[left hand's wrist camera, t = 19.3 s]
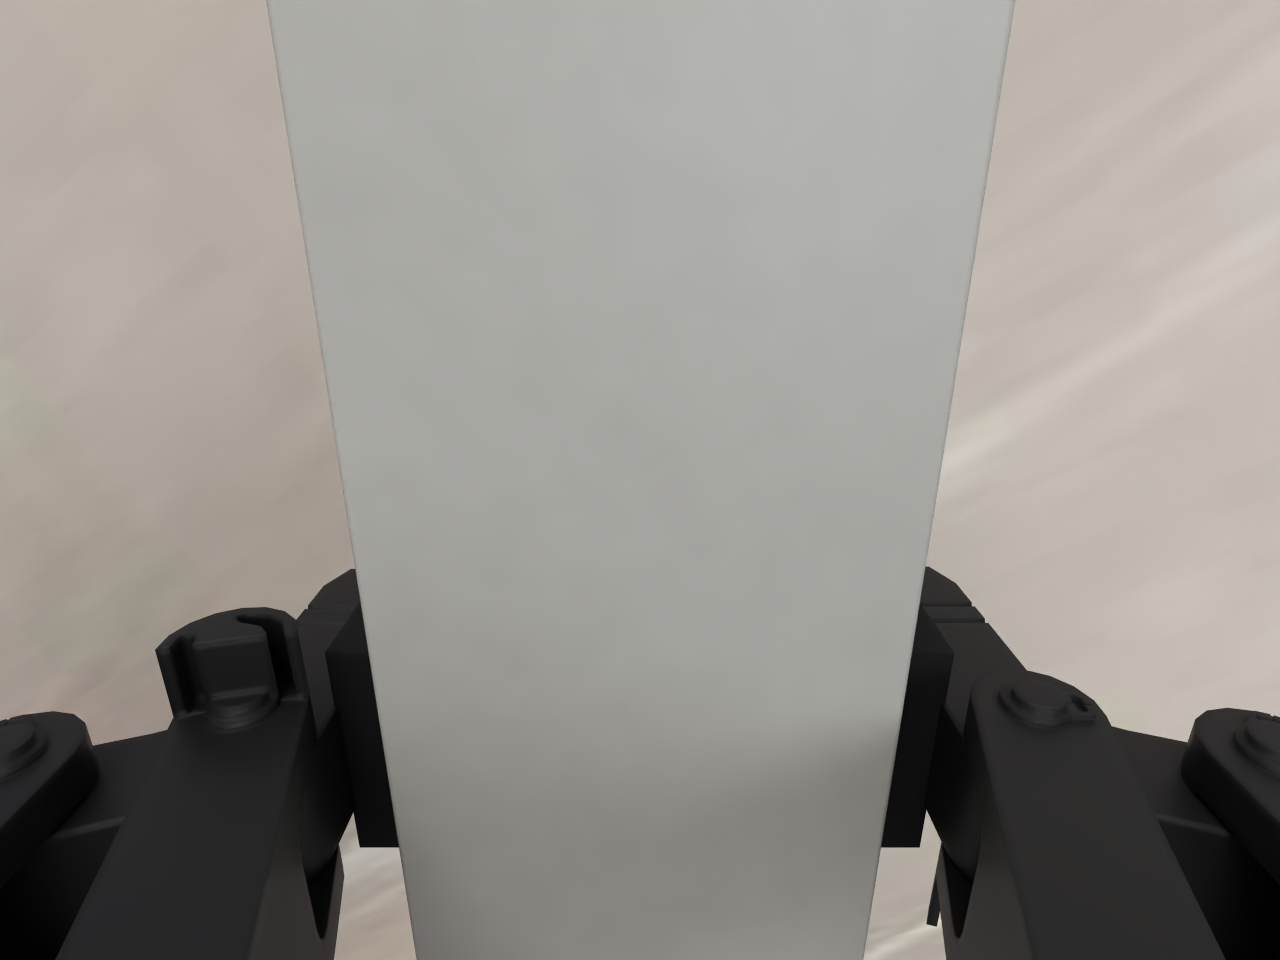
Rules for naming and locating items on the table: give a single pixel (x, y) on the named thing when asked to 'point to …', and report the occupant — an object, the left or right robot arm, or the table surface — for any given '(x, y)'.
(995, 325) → the table surface
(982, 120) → the bar
